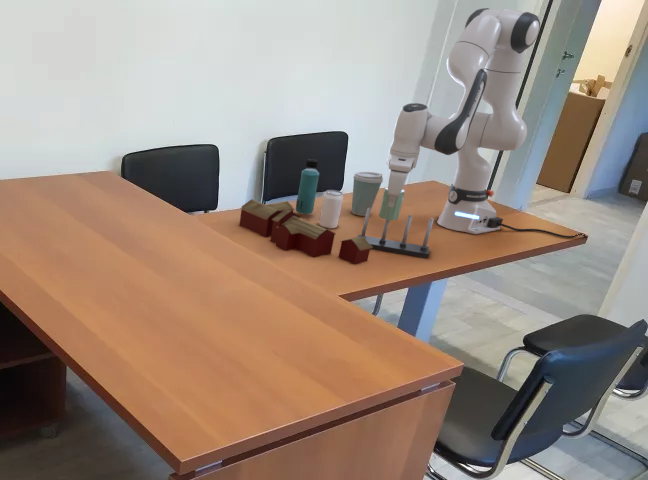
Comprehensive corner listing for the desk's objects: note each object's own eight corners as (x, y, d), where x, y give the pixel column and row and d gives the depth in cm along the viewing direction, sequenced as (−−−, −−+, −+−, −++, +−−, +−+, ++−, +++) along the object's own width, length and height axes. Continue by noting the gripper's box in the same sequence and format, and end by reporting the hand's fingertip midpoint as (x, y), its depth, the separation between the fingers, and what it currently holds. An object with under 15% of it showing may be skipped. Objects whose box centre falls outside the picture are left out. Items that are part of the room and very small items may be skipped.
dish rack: (428, 251, 232) (438, 215, 226) (427, 258, 226) (437, 222, 220) (357, 238, 239) (365, 204, 233) (354, 245, 233) (362, 210, 227)
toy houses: (233, 226, 242) (236, 197, 237) (276, 218, 253) (281, 190, 248) (331, 271, 211) (338, 239, 206) (376, 260, 222) (383, 229, 217)
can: (337, 229, 246) (344, 195, 240) (318, 227, 247) (324, 193, 240) (336, 224, 251) (343, 190, 245) (318, 222, 252) (324, 188, 246)
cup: (375, 214, 230) (381, 187, 225) (390, 213, 232) (397, 186, 227) (386, 220, 225) (392, 192, 220) (401, 219, 227) (408, 191, 222)
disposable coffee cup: (342, 213, 262) (350, 173, 255) (351, 206, 271) (359, 167, 263) (370, 219, 258) (379, 178, 250) (378, 212, 266) (387, 172, 258)
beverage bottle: (314, 215, 259) (325, 160, 248) (308, 219, 254) (318, 163, 243) (298, 211, 261) (307, 156, 251) (291, 215, 256) (300, 160, 246)
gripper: (394, 151, 228) (384, 193, 235) (389, 165, 212) (378, 210, 219) (414, 154, 227) (403, 196, 234) (411, 168, 210) (399, 213, 217)
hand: (391, 203), depth 226 cm, fingers closed on cup, 6 cm apart
